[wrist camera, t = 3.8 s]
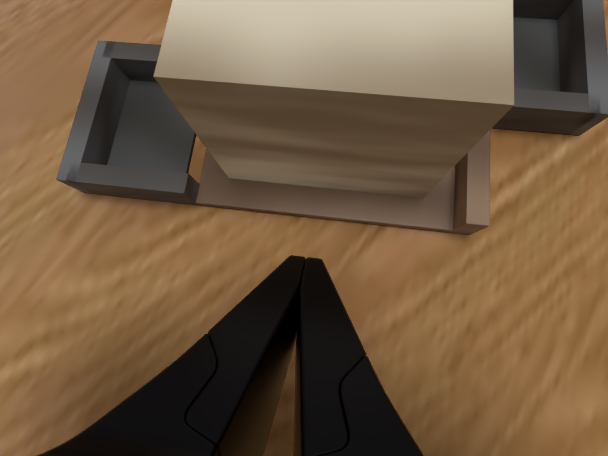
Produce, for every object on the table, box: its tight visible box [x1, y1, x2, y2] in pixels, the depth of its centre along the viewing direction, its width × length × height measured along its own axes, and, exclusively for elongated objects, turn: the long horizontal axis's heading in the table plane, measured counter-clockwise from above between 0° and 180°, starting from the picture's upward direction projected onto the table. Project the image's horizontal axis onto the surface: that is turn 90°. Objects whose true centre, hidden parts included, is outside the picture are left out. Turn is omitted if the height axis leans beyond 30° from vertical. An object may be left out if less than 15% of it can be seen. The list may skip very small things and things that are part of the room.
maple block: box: [153, 0, 514, 198], centre depth 15 cm, size 14×10×8 cm
